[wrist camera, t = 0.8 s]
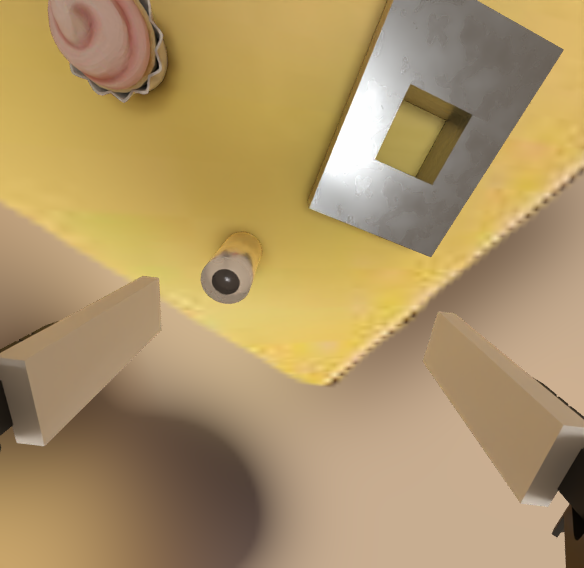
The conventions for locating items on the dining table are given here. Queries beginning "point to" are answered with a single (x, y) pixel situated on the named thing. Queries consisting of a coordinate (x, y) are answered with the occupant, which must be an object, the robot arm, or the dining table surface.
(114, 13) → the cupcake
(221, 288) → the bushing
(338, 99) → the dining table surface
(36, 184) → the dining table surface
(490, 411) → the robot arm
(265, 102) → the dining table surface
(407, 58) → the jig
